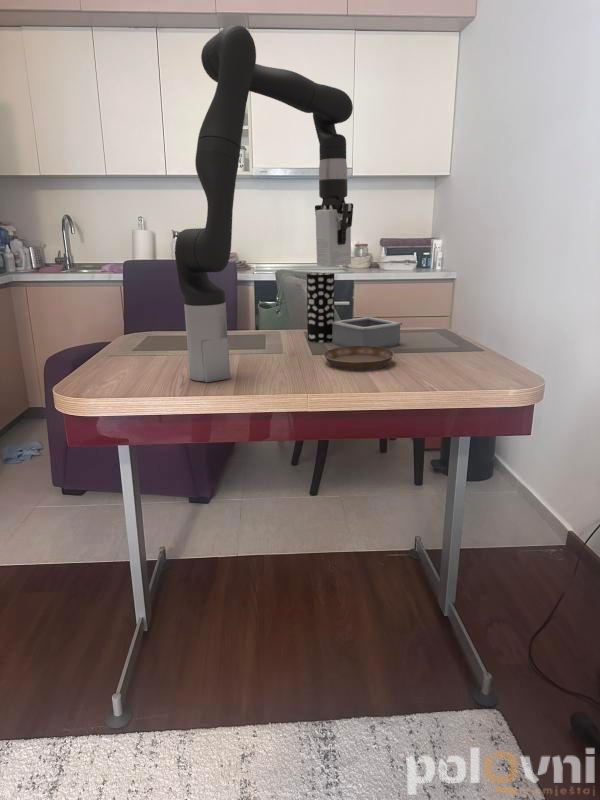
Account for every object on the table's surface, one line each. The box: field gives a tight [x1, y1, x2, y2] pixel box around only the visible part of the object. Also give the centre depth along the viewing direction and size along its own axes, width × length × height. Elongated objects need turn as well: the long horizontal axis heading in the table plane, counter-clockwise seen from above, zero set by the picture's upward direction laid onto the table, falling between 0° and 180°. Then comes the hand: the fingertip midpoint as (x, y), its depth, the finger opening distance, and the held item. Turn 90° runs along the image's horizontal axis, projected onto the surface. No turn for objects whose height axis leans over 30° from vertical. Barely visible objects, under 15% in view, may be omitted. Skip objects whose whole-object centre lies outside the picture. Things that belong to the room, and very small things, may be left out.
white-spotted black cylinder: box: [306, 272, 335, 344], centre depth 163 cm, size 8×8×20 cm
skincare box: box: [315, 209, 352, 268], centre depth 147 cm, size 8×6×15 cm
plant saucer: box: [323, 346, 395, 371], centre depth 136 cm, size 18×18×3 cm
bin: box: [331, 316, 403, 349], centre depth 158 cm, size 15×15×6 cm
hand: (333, 244), depth 147 cm, fingers closed on skincare box, 6 cm apart
